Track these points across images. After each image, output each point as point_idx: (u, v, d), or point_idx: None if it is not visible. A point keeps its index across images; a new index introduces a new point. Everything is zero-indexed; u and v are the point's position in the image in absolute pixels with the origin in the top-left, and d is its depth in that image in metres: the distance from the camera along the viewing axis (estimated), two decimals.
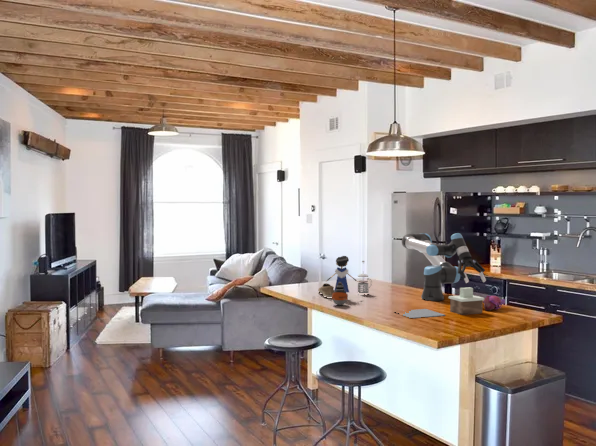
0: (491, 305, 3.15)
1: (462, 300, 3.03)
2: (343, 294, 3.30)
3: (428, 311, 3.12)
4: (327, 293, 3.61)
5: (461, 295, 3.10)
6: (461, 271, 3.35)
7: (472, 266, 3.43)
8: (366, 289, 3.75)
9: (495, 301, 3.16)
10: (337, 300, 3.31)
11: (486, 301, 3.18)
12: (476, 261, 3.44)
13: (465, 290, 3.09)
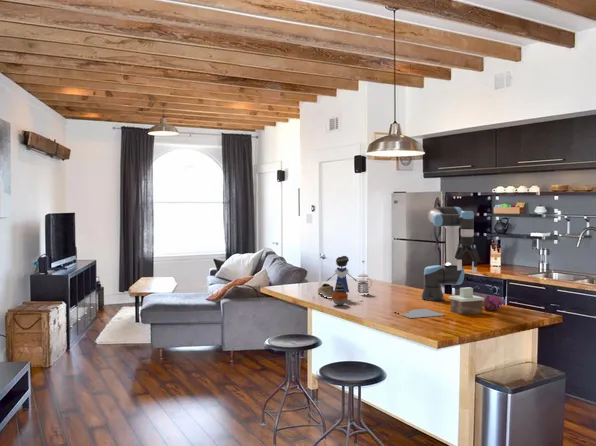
0: (491, 305, 3.15)
1: (462, 300, 3.03)
2: (343, 294, 3.30)
3: (428, 311, 3.12)
4: (327, 293, 3.61)
5: (461, 295, 3.10)
6: (456, 257, 3.19)
7: None
8: (366, 289, 3.75)
9: (495, 301, 3.16)
10: (337, 300, 3.31)
11: (486, 301, 3.17)
12: (472, 248, 3.05)
13: (465, 290, 3.09)
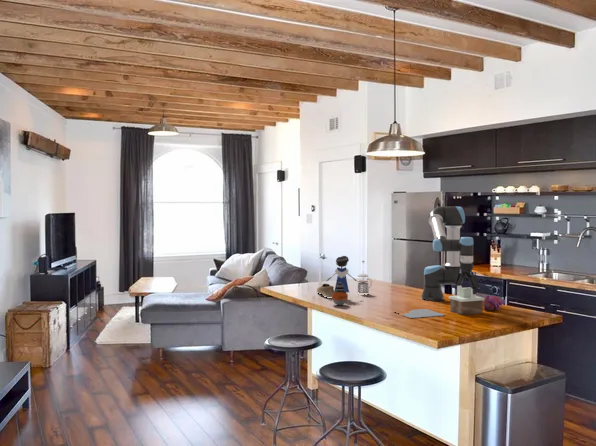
0: (490, 305, 3.15)
1: (462, 300, 3.03)
2: (343, 294, 3.30)
3: (428, 311, 3.12)
4: (328, 293, 3.61)
5: (461, 295, 3.10)
6: (456, 283, 3.19)
7: None
8: (366, 289, 3.75)
9: (494, 301, 3.15)
10: (337, 300, 3.31)
11: (485, 301, 3.17)
12: (471, 275, 3.05)
13: (465, 290, 3.09)
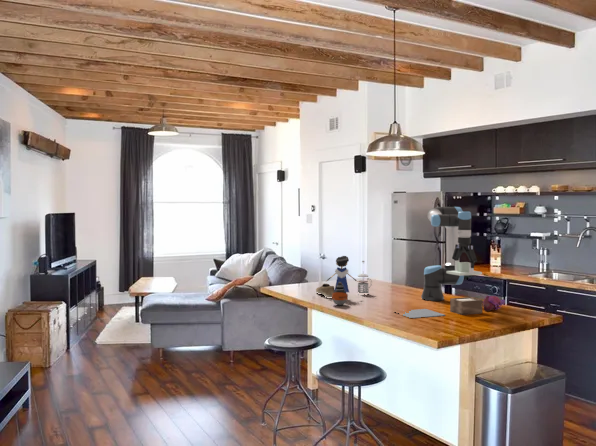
0: (490, 305, 3.14)
1: (460, 274, 3.02)
2: (343, 294, 3.30)
3: (428, 311, 3.12)
4: (329, 293, 3.60)
5: (459, 269, 3.10)
6: (454, 258, 3.18)
7: None
8: (366, 289, 3.75)
9: (494, 301, 3.15)
10: (337, 300, 3.31)
11: (485, 301, 3.17)
12: (469, 249, 3.04)
13: (463, 264, 3.08)
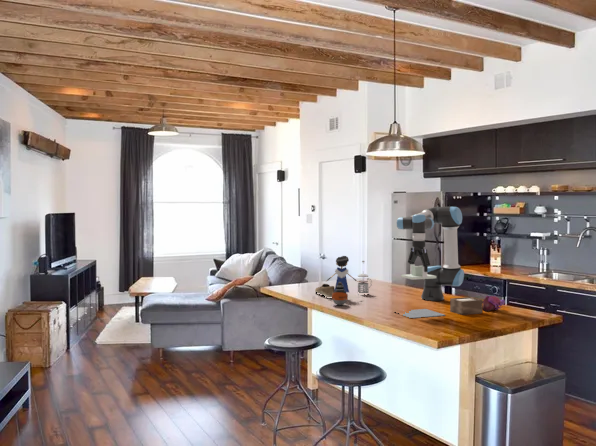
0: (490, 305, 3.14)
1: (413, 278, 2.98)
2: (343, 294, 3.30)
3: (428, 311, 3.12)
4: (329, 293, 3.60)
5: (413, 273, 3.05)
6: (410, 261, 3.14)
7: None
8: (366, 289, 3.75)
9: (494, 301, 3.14)
10: (337, 300, 3.31)
11: (485, 301, 3.17)
12: (423, 252, 3.00)
13: (417, 268, 3.04)
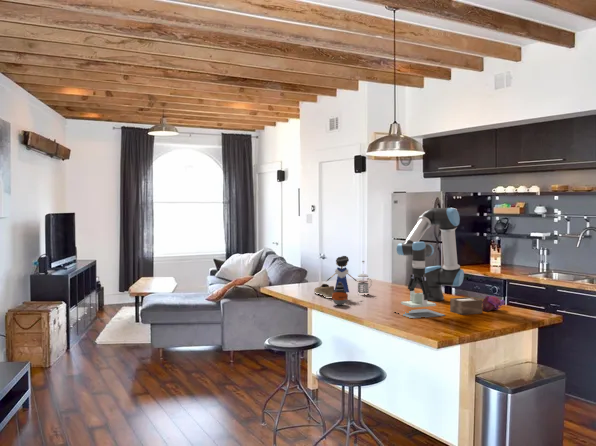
0: (489, 305, 3.14)
1: (413, 306, 2.98)
2: (343, 294, 3.30)
3: (428, 311, 3.12)
4: (329, 293, 3.60)
5: (413, 301, 3.06)
6: (409, 288, 3.14)
7: None
8: (366, 289, 3.75)
9: (494, 302, 3.14)
10: (337, 300, 3.31)
11: (485, 301, 3.16)
12: (423, 280, 3.00)
13: (417, 296, 3.04)
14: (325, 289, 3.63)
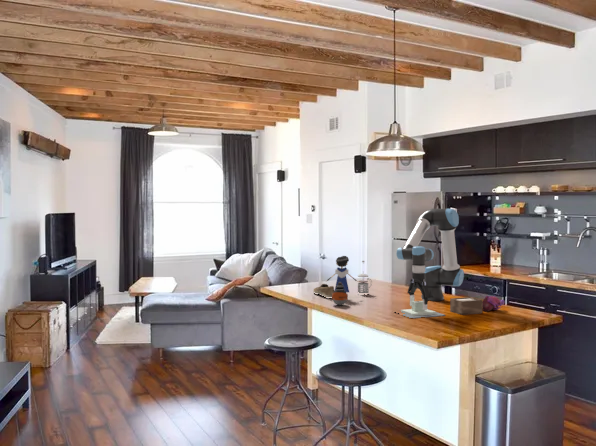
0: (489, 306, 3.13)
1: (413, 314, 2.99)
2: (343, 294, 3.30)
3: None
4: (329, 293, 3.59)
5: (413, 309, 3.06)
6: (409, 292, 3.14)
7: None
8: (366, 289, 3.75)
9: (493, 302, 3.14)
10: (337, 300, 3.31)
11: (484, 301, 3.16)
12: (423, 285, 3.00)
13: (417, 304, 3.05)
14: (325, 289, 3.63)
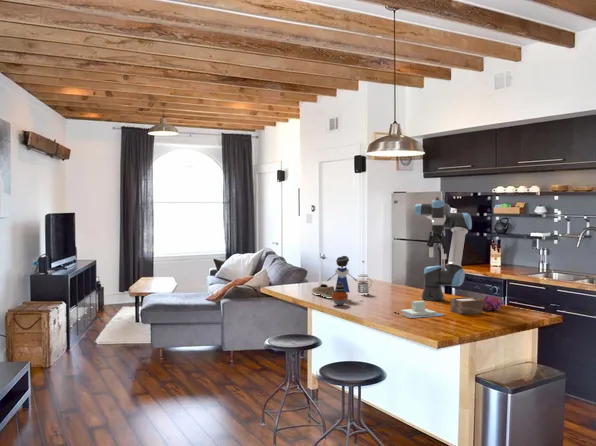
0: (488, 306, 3.13)
1: (413, 314, 2.99)
2: (343, 294, 3.30)
3: None
4: (329, 294, 3.59)
5: (413, 309, 3.06)
6: (428, 245, 3.33)
7: None
8: (366, 289, 3.75)
9: (493, 302, 3.13)
10: (337, 300, 3.31)
11: (484, 302, 3.16)
12: (442, 235, 3.18)
13: (417, 304, 3.05)
14: (325, 289, 3.62)
